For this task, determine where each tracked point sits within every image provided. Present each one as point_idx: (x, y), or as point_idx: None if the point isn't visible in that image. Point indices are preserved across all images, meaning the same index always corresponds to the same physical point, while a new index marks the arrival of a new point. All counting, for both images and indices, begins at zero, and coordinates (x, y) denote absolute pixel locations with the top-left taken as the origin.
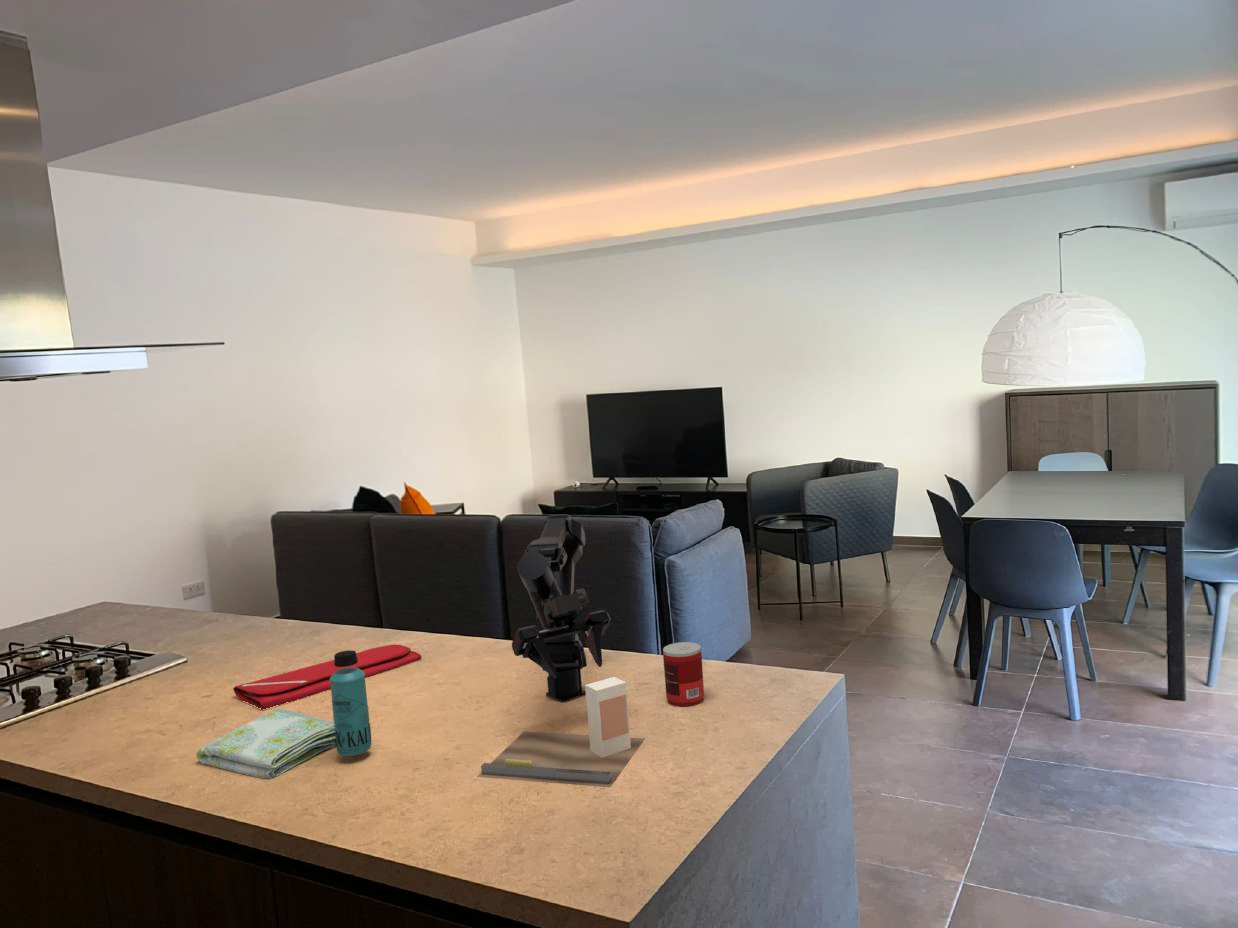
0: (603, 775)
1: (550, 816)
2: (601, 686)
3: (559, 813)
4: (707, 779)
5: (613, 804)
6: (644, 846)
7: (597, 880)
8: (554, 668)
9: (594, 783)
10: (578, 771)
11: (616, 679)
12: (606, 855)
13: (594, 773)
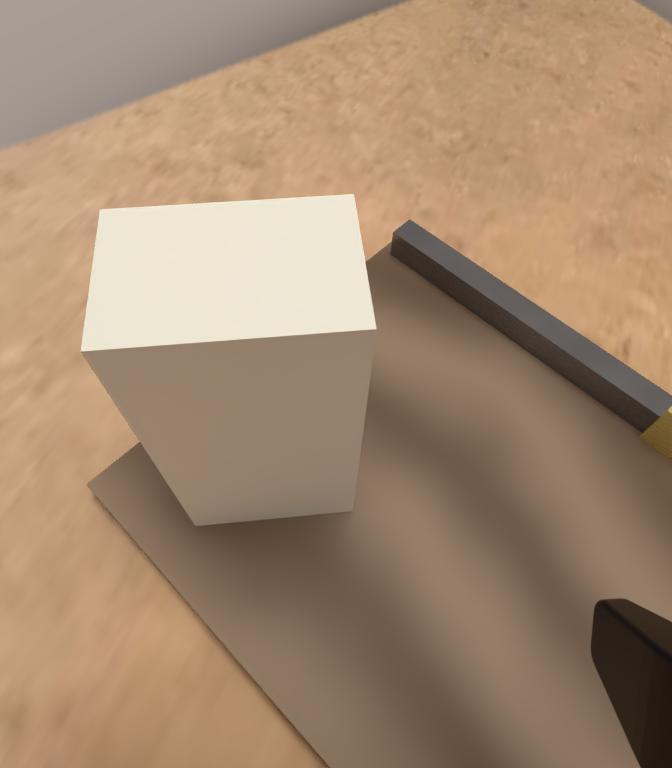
0: (423, 230)
1: (608, 220)
2: (286, 236)
3: (581, 221)
4: (134, 176)
5: (427, 192)
6: (436, 49)
7: (559, 18)
8: (657, 642)
9: None
10: (493, 288)
11: (109, 292)
12: (520, 58)
13: (447, 250)
